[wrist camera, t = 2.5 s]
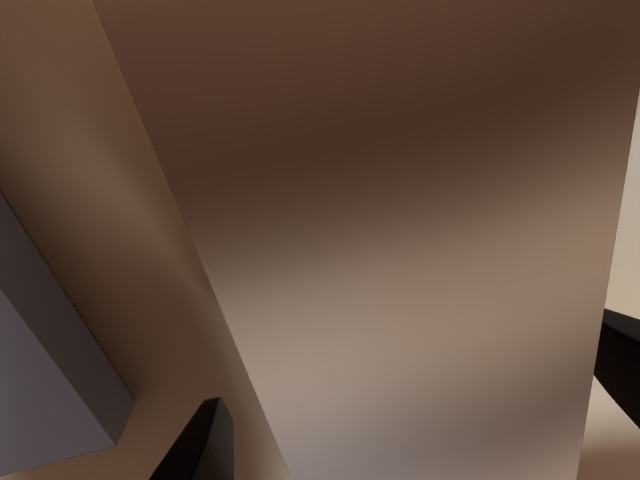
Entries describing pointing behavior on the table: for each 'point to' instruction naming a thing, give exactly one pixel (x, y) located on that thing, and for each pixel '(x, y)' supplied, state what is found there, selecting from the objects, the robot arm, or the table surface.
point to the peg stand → (49, 365)
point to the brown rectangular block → (399, 214)
